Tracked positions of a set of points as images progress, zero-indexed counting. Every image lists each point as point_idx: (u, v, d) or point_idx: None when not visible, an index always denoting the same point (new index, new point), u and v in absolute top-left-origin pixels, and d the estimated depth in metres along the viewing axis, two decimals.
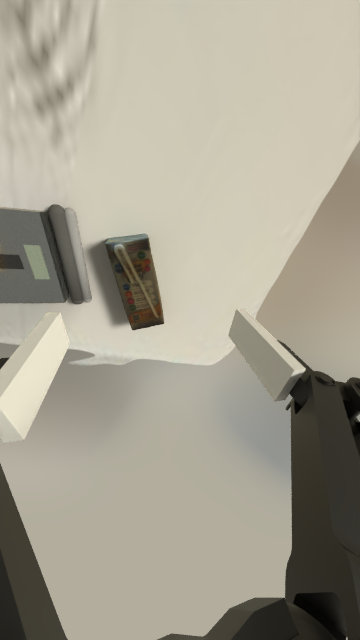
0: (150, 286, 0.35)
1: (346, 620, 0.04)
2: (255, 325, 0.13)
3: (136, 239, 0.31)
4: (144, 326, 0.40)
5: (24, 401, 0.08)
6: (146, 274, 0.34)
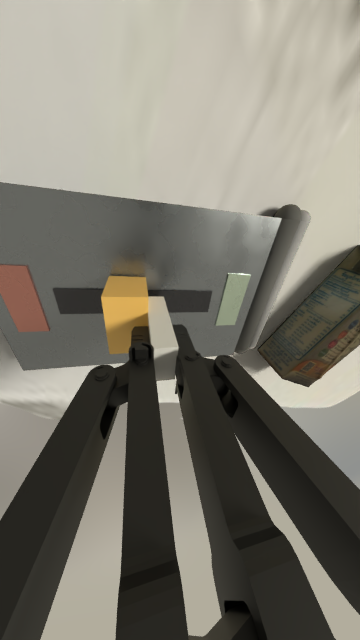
0: None
1: (259, 637, 0.03)
2: (161, 310, 0.13)
3: None
4: (295, 380, 0.25)
5: None
6: None
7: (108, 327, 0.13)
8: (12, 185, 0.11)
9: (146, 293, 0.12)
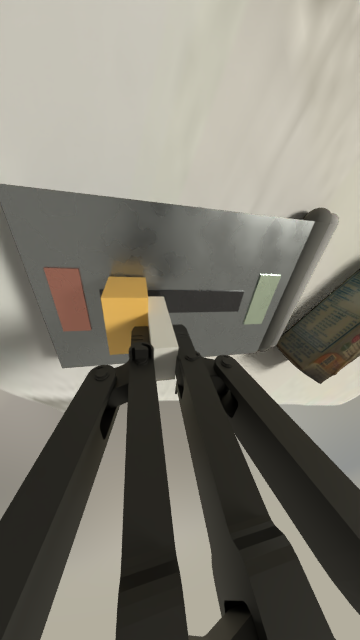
0: None
1: (259, 638, 0.03)
2: (161, 310, 0.13)
3: None
4: (312, 374, 0.25)
5: None
6: None
7: (108, 328, 0.13)
8: (75, 194, 0.12)
9: (146, 293, 0.12)
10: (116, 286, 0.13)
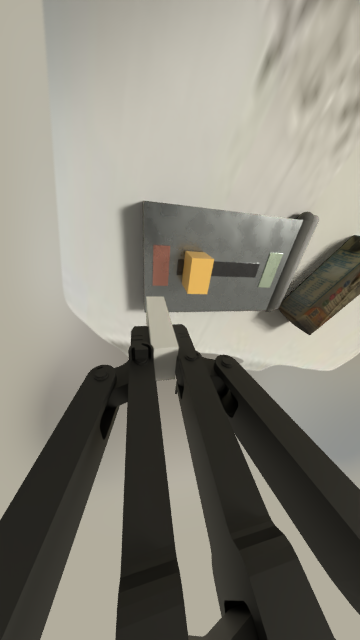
0: (349, 298, 0.35)
1: (259, 638, 0.03)
2: (161, 310, 0.13)
3: None
4: (303, 325, 0.36)
5: None
6: None
7: (191, 276, 0.24)
8: (178, 205, 0.23)
9: (211, 258, 0.24)
10: (194, 254, 0.24)
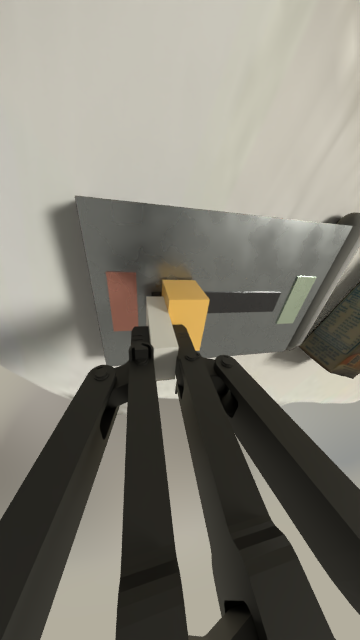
0: None
1: (259, 637, 0.03)
2: (161, 310, 0.13)
3: None
4: (342, 373, 0.27)
5: None
6: None
7: None
8: (143, 204, 0.13)
9: (205, 296, 0.13)
10: (175, 289, 0.14)
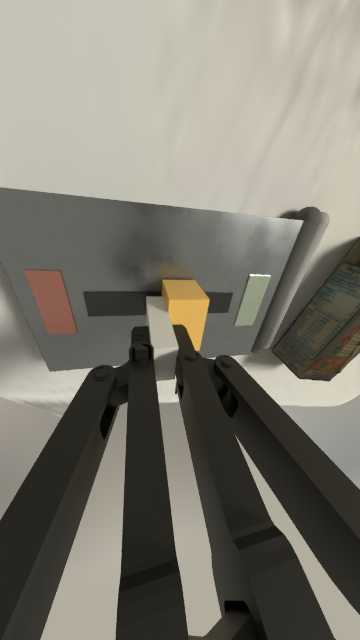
0: None
1: (259, 637, 0.03)
2: (161, 310, 0.13)
3: None
4: (313, 378, 0.26)
5: None
6: None
7: None
8: (53, 194, 0.11)
9: (205, 295, 0.13)
10: (175, 289, 0.14)
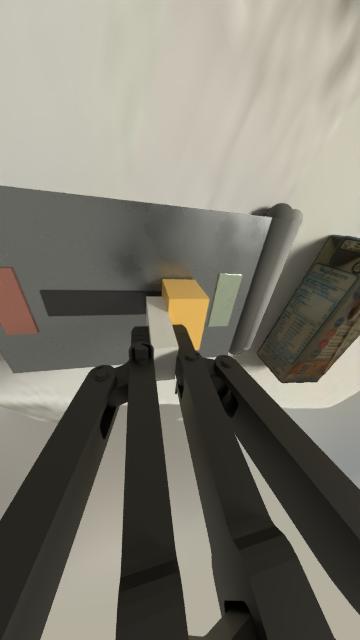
0: (358, 330, 0.22)
1: (259, 637, 0.03)
2: (161, 310, 0.13)
3: None
4: (297, 381, 0.25)
5: None
6: None
7: None
8: None
9: (205, 295, 0.13)
10: (175, 288, 0.14)
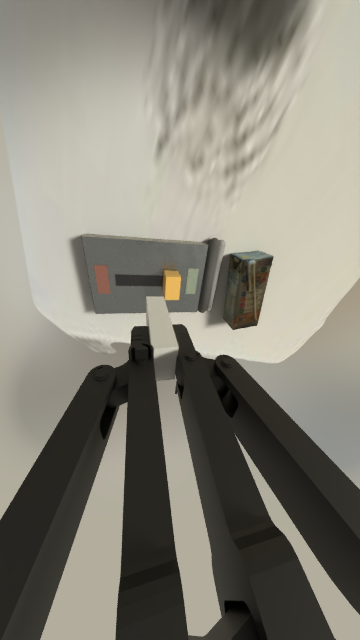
0: (260, 294, 0.43)
1: (259, 637, 0.03)
2: (161, 310, 0.13)
3: (265, 257, 0.38)
4: (242, 327, 0.47)
5: None
6: (261, 284, 0.42)
7: (166, 288, 0.35)
8: (108, 238, 0.32)
9: (180, 276, 0.35)
10: (168, 273, 0.36)
